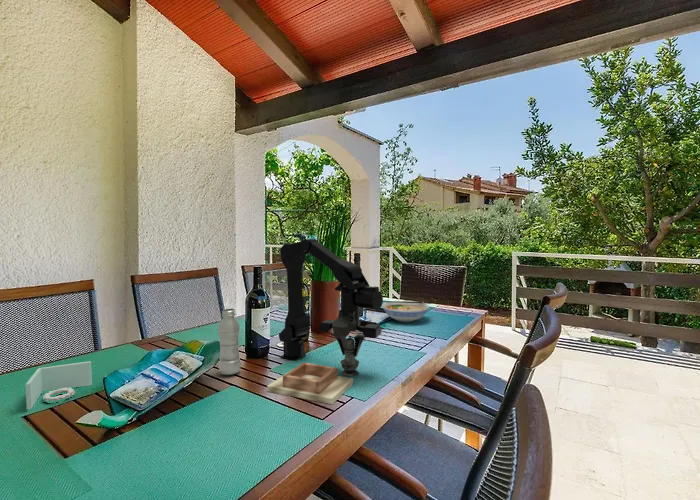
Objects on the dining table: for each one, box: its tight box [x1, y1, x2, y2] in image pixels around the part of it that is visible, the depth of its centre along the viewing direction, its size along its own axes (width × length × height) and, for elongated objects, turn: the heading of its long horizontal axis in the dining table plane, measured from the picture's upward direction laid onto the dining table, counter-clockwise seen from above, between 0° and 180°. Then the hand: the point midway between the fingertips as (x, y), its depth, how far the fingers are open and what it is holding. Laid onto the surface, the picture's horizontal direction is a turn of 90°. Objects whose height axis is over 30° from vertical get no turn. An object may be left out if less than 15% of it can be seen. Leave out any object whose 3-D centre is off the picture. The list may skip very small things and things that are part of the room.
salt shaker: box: [340, 335, 360, 377], centre depth 118 cm, size 6×6×12 cm
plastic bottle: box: [217, 308, 242, 376], centre depth 118 cm, size 6×7×20 cm
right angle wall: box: [25, 360, 93, 410], centre depth 102 cm, size 12×12×8 cm
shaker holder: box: [266, 362, 354, 405], centre depth 108 cm, size 20×14×4 cm
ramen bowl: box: [381, 300, 432, 323], centre depth 184 cm, size 25×23×8 cm
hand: (349, 355), depth 118 cm, fingers closed on salt shaker, 4 cm apart
